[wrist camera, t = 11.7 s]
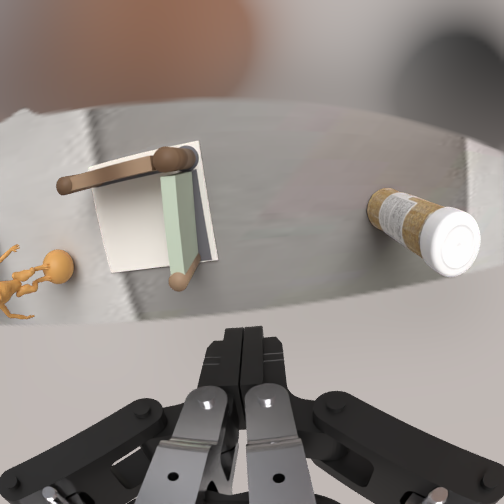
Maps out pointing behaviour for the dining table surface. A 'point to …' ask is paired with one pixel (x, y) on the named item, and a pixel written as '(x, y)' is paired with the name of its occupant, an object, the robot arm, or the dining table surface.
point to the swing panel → (180, 228)
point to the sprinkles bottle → (427, 230)
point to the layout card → (147, 216)
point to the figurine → (54, 269)
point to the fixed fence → (129, 169)
